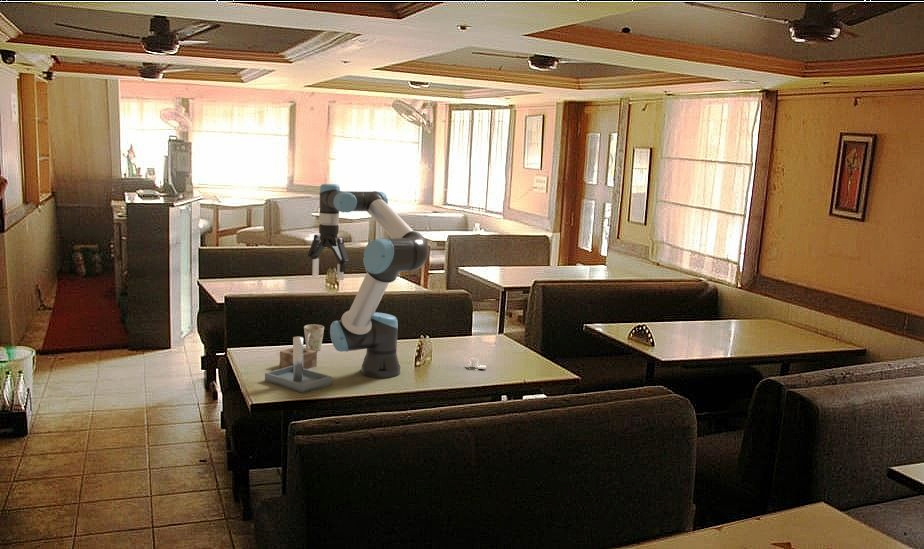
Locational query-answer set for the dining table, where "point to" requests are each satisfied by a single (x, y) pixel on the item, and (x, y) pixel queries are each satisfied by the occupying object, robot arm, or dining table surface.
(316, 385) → the slate tray
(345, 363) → the dining table surface
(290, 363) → the wooden hollow square frame
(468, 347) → the dining table surface
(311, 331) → the mug
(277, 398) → the dining table surface
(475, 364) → the teacup and saucer
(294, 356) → the steel pin
